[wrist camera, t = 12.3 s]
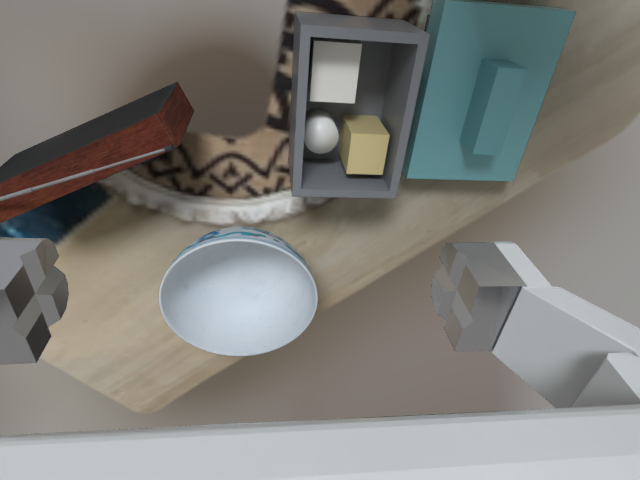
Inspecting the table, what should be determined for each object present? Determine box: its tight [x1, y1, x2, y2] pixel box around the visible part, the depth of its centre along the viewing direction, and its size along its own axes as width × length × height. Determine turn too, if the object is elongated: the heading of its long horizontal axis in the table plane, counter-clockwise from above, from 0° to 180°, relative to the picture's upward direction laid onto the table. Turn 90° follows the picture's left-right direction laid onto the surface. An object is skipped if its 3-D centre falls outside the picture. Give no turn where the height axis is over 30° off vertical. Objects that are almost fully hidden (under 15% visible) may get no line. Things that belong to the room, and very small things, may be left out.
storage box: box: [288, 11, 430, 199], centre depth 35 cm, size 13×9×7 cm
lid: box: [402, 0, 576, 181], centre depth 37 cm, size 15×11×6 cm
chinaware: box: [159, 227, 318, 356], centre depth 44 cm, size 15×15×8 cm
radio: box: [0, 82, 194, 223], centre depth 32 cm, size 19×3×15 cm, turn 111°
